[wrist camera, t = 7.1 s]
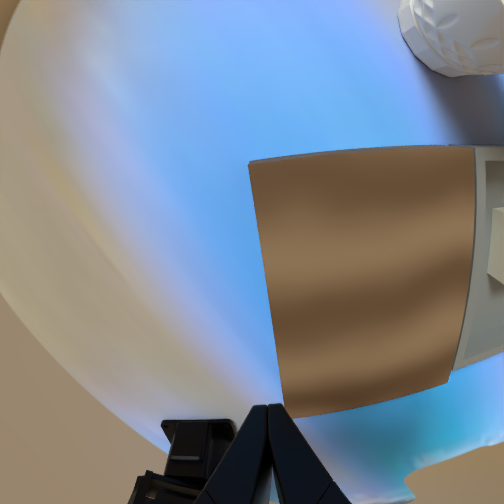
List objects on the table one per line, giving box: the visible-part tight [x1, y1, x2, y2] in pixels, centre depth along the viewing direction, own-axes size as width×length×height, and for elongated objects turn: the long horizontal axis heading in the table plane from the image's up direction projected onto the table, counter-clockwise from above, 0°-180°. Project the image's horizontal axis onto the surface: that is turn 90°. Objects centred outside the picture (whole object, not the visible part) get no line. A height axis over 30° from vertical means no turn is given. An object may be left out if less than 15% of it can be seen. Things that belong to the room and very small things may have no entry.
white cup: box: [397, 0, 504, 77], centre depth 9 cm, size 8×8×10 cm
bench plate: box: [248, 145, 475, 419], centre depth 18 cm, size 16×12×4 cm
